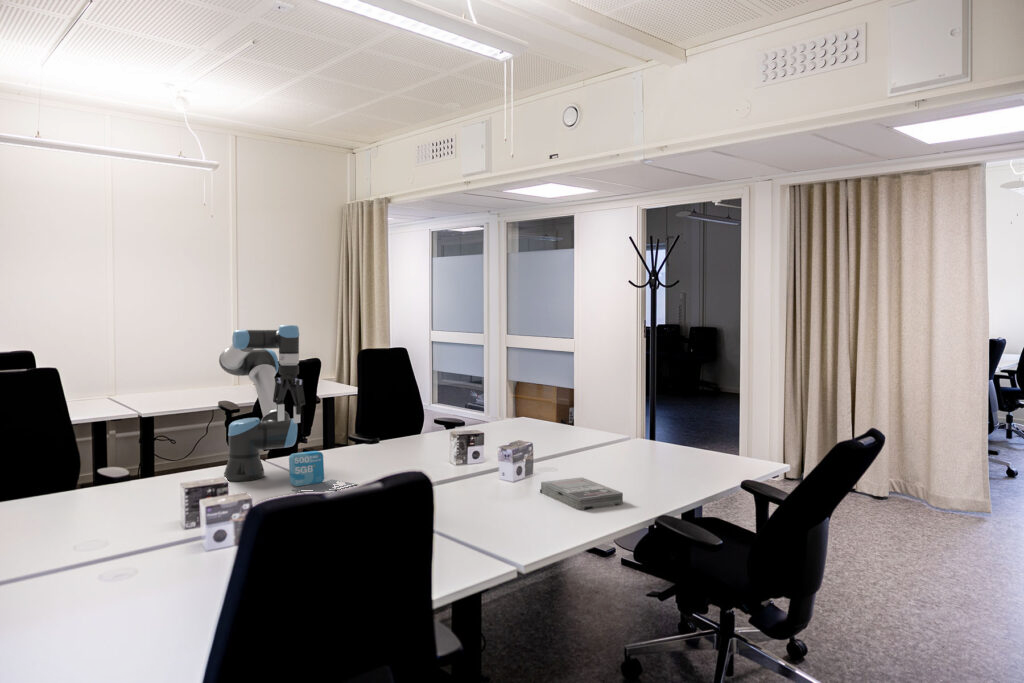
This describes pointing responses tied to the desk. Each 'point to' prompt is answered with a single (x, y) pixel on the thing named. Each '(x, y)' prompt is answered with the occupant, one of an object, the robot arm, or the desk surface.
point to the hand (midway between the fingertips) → (288, 421)
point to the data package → (306, 468)
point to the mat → (323, 486)
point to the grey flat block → (581, 493)
